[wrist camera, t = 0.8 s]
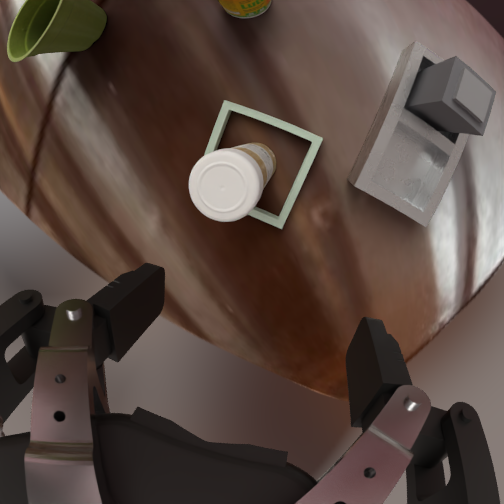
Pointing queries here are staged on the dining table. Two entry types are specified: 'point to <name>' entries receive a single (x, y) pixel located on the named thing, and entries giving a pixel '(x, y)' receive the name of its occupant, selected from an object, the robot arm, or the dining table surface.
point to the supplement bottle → (245, 7)
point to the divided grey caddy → (407, 147)
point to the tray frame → (315, 139)
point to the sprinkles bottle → (231, 180)
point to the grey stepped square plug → (451, 98)
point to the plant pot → (54, 27)
